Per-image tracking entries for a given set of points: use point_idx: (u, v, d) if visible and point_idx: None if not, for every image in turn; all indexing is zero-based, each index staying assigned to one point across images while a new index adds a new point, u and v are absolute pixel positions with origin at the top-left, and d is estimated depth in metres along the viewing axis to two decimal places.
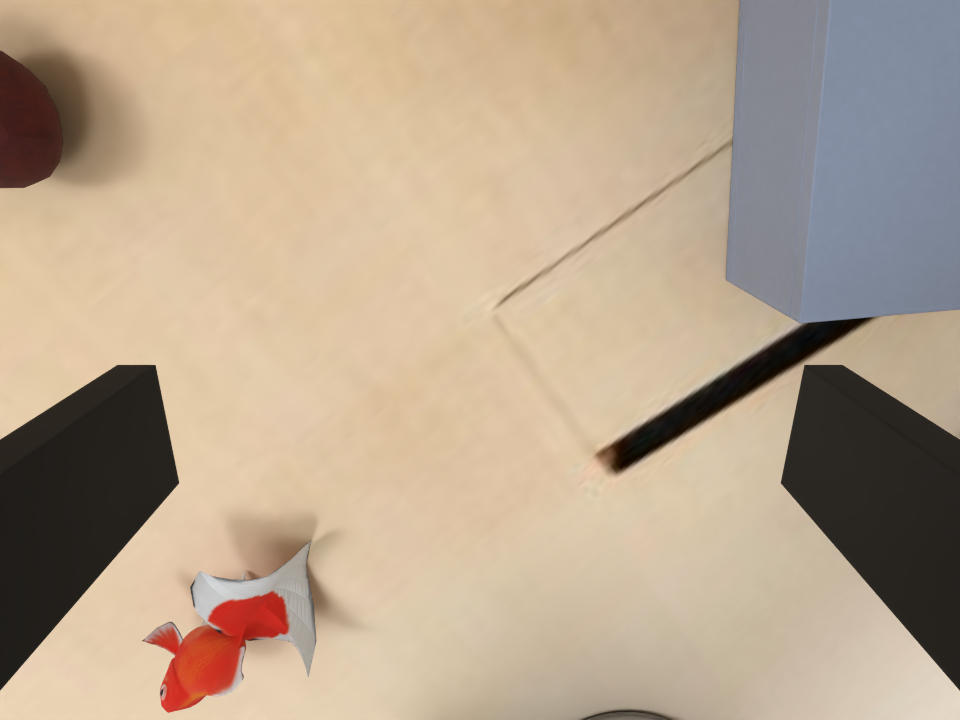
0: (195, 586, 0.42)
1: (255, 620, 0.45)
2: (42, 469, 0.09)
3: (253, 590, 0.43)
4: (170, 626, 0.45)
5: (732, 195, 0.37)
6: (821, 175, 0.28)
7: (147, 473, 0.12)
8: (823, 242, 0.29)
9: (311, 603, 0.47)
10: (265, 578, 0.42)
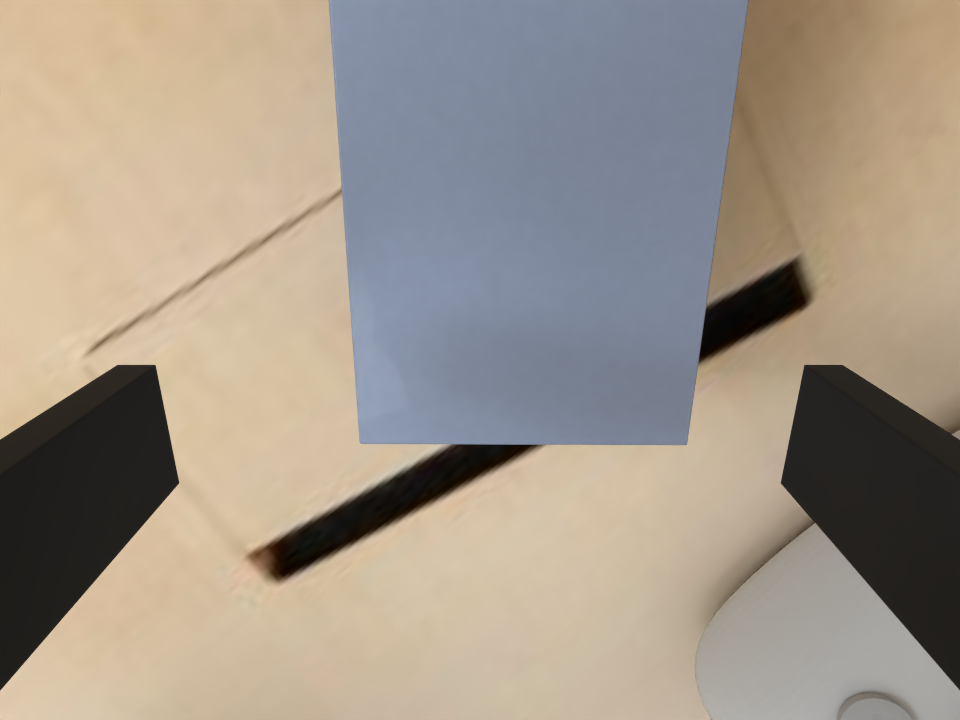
0: None
1: None
2: (42, 469, 0.09)
3: None
4: None
5: None
6: (356, 225, 0.18)
7: (147, 473, 0.12)
8: (376, 328, 0.19)
9: None
10: None
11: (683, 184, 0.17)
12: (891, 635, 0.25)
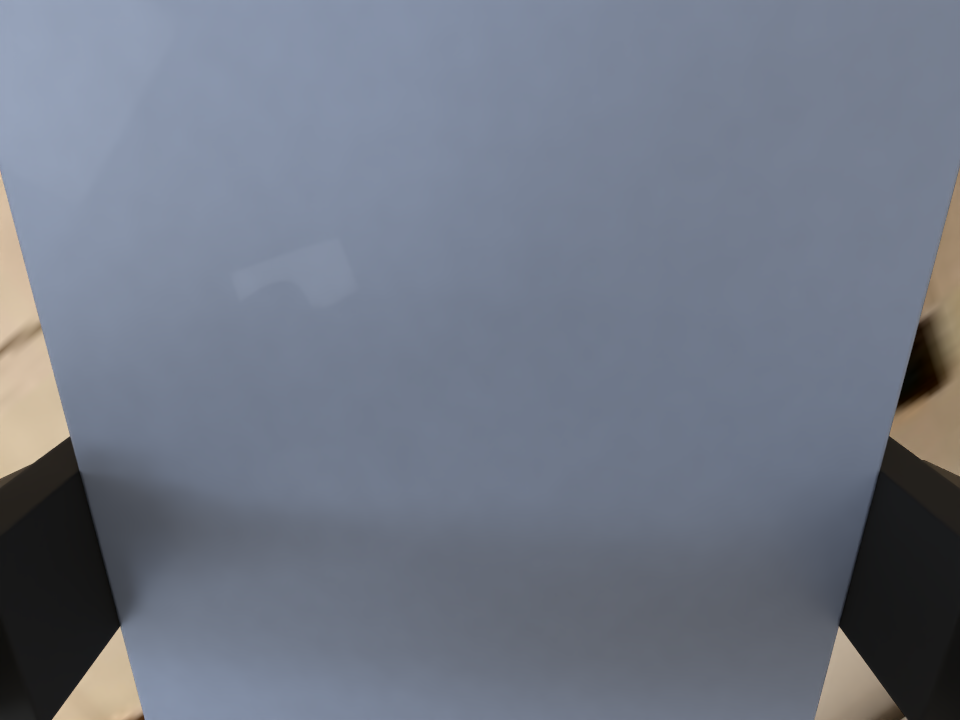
0: None
1: None
2: None
3: None
4: None
5: None
6: (68, 330, 0.07)
7: None
8: (148, 541, 0.09)
9: None
10: None
11: (846, 232, 0.07)
12: None
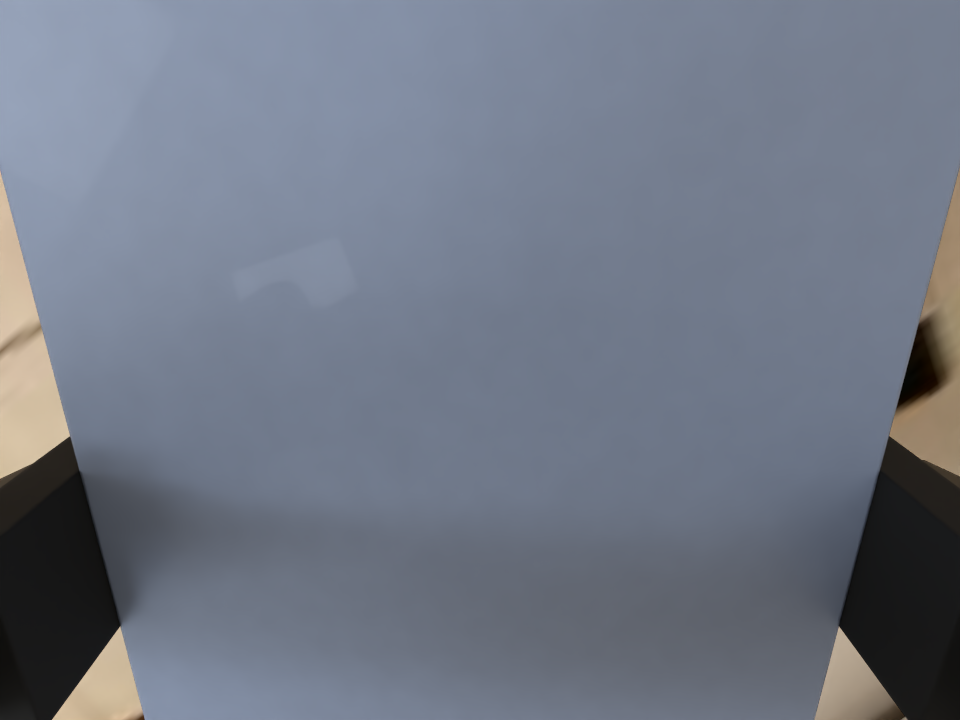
0: None
1: None
2: None
3: None
4: None
5: None
6: (68, 330, 0.07)
7: None
8: (148, 541, 0.09)
9: None
10: None
11: (847, 232, 0.07)
12: None
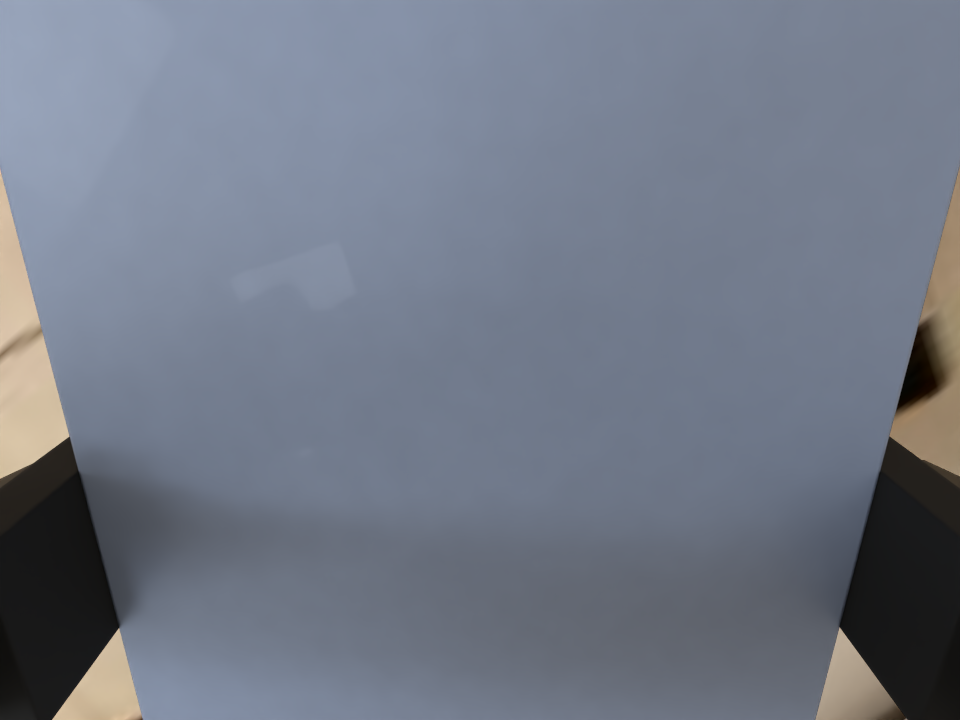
0: None
1: None
2: None
3: None
4: None
5: None
6: (68, 328, 0.07)
7: None
8: (147, 540, 0.09)
9: None
10: None
11: (847, 231, 0.07)
12: None
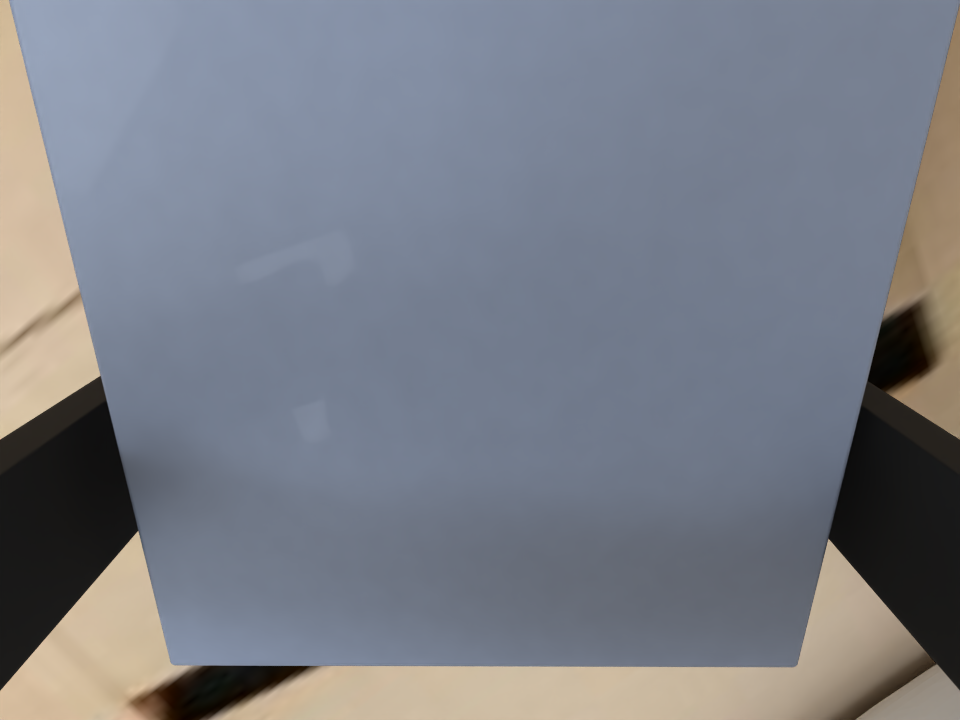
0: None
1: None
2: (42, 469, 0.09)
3: None
4: None
5: None
6: (96, 257, 0.08)
7: None
8: (170, 464, 0.09)
9: None
10: None
11: (830, 160, 0.07)
12: None
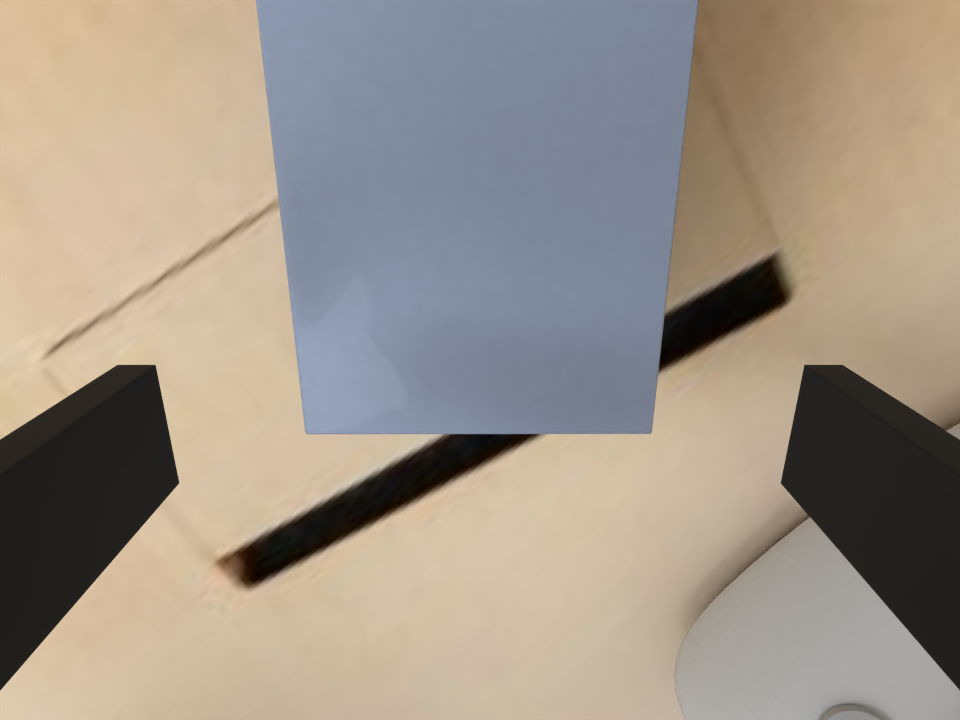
0: None
1: None
2: (42, 469, 0.09)
3: None
4: None
5: None
6: (291, 200, 0.17)
7: (147, 473, 0.12)
8: (316, 310, 0.18)
9: None
10: None
11: (639, 153, 0.16)
12: (872, 644, 0.24)
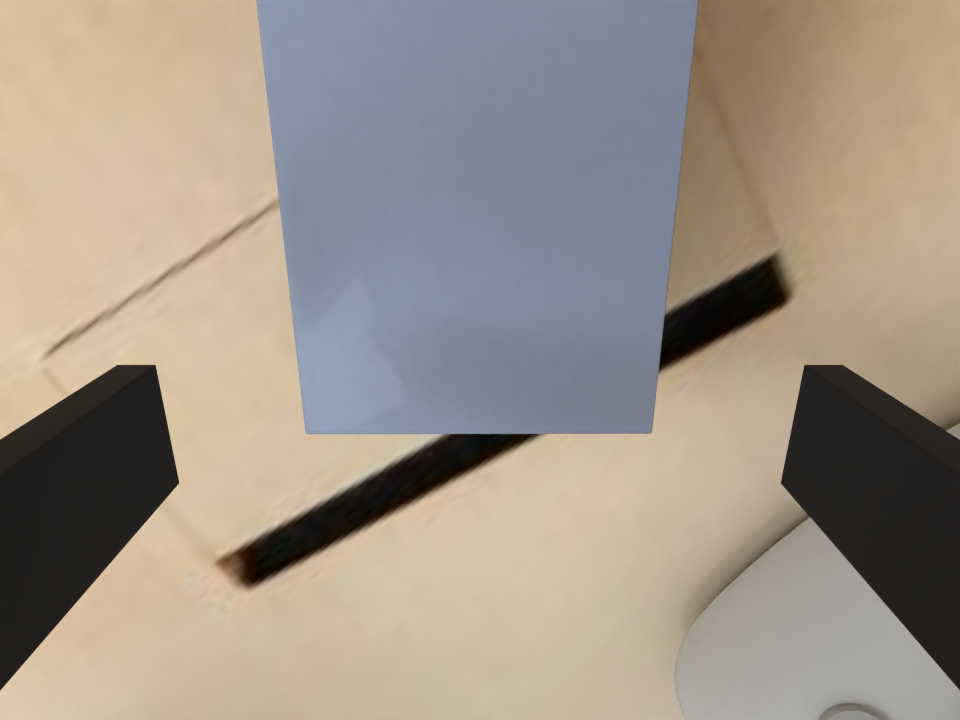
0: None
1: None
2: (42, 469, 0.09)
3: None
4: None
5: None
6: (291, 200, 0.17)
7: (147, 473, 0.12)
8: (317, 310, 0.18)
9: None
10: None
11: (639, 153, 0.16)
12: (872, 644, 0.24)
